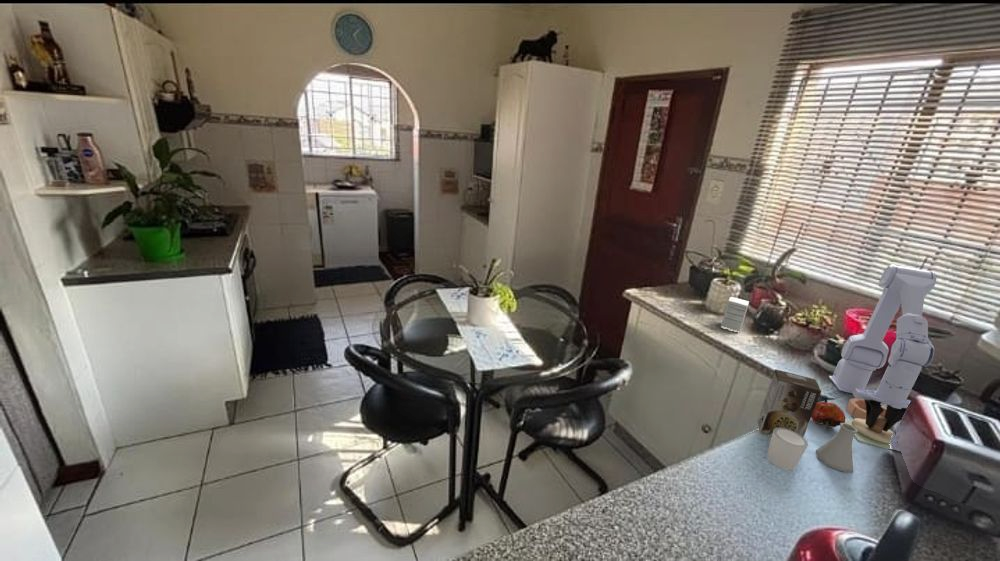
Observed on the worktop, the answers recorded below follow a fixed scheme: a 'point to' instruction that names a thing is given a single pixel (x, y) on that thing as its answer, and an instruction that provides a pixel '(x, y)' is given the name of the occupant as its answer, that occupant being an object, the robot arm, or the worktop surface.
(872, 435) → the lid
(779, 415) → the coffee box
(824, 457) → the flask
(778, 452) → the white cylinder
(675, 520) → the worktop surface
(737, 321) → the supplement box
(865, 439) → the mat
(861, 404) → the dish
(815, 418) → the pomegranate
